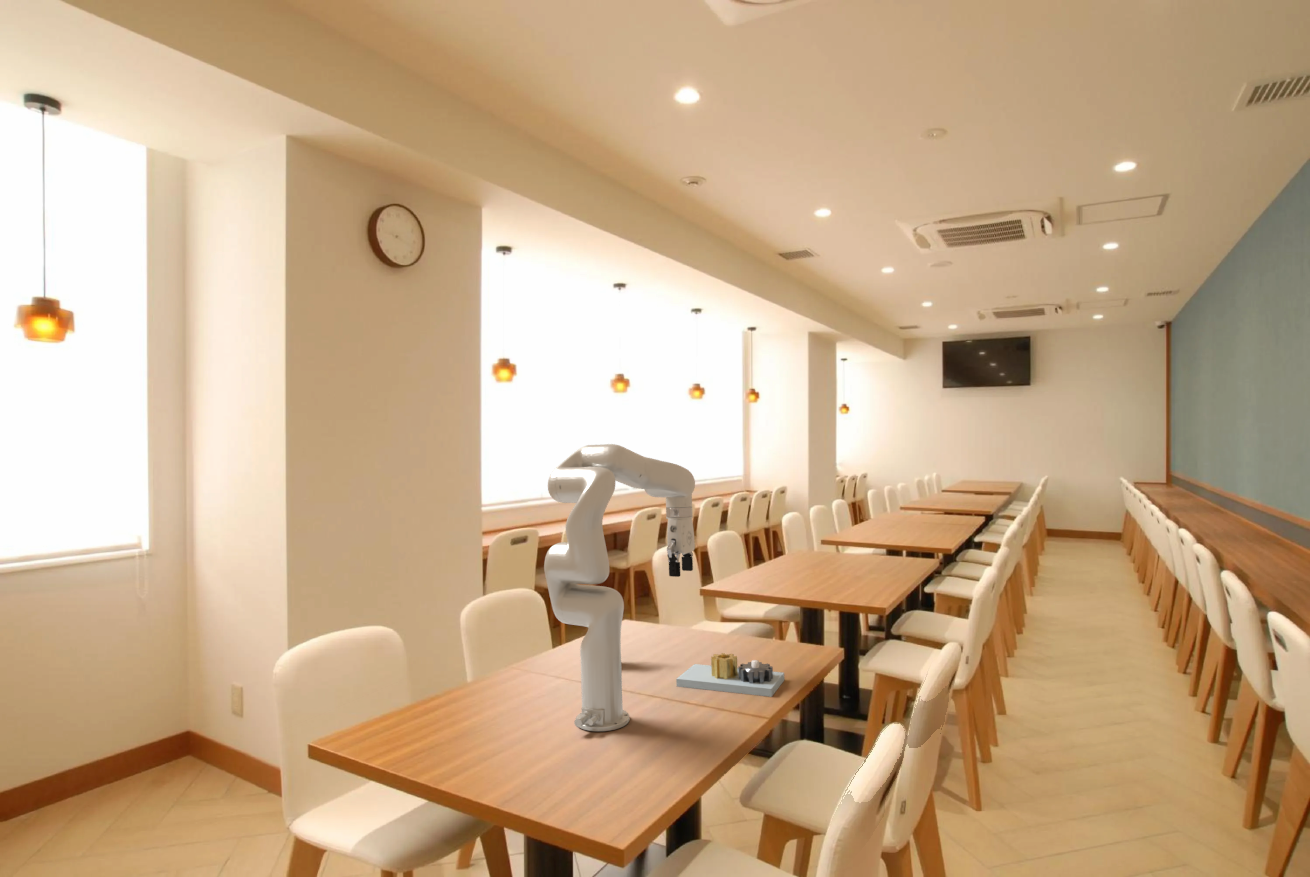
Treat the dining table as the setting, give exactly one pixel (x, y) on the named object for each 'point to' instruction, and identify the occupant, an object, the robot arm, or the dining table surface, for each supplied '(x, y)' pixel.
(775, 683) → the board
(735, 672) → the brass gear
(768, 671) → the steel gear
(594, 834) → the dining table surface
